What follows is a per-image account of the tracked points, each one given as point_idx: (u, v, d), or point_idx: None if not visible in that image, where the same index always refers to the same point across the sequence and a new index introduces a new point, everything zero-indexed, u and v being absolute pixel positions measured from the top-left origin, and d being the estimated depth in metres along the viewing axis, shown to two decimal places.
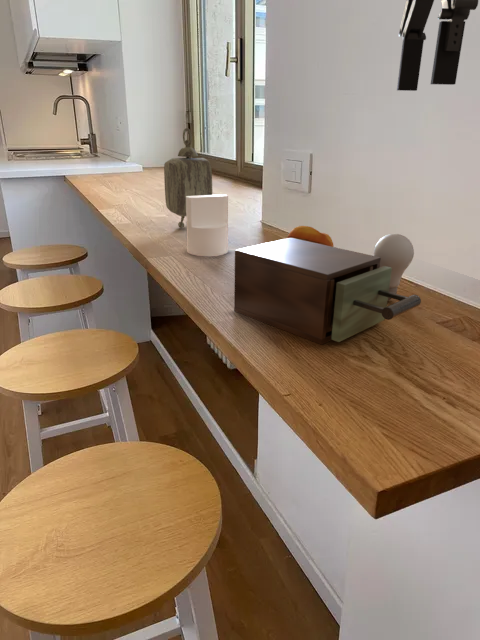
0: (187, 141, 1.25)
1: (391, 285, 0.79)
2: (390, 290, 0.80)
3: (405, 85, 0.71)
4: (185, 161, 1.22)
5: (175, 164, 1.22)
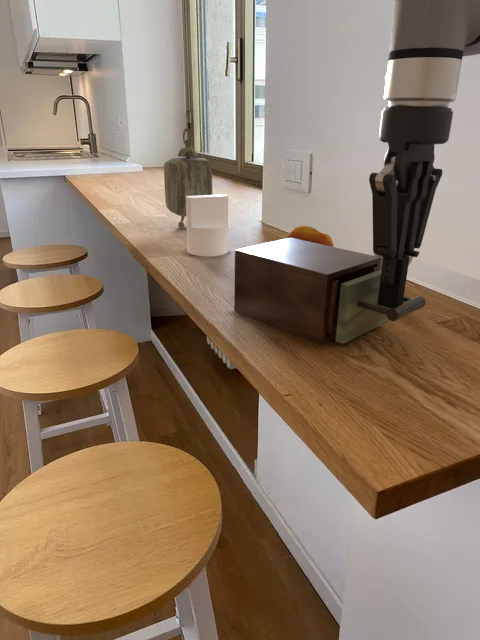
0: (187, 141, 1.25)
1: None
2: None
3: None
4: (185, 161, 1.22)
5: (175, 164, 1.22)
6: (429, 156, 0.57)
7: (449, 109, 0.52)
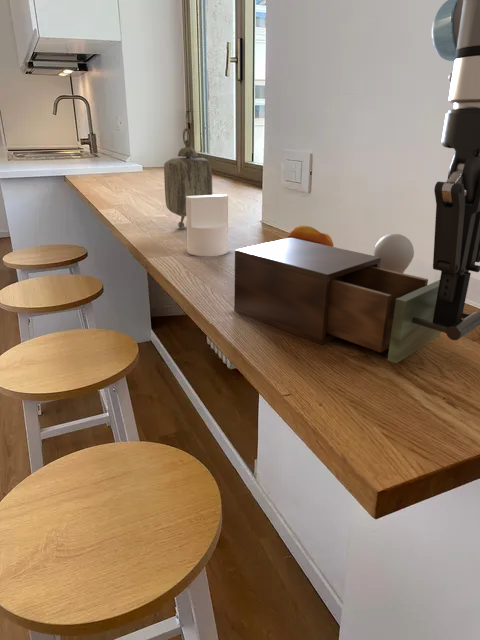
0: (187, 141, 1.25)
1: None
2: None
3: None
4: (185, 161, 1.22)
5: (175, 164, 1.22)
6: None
7: None
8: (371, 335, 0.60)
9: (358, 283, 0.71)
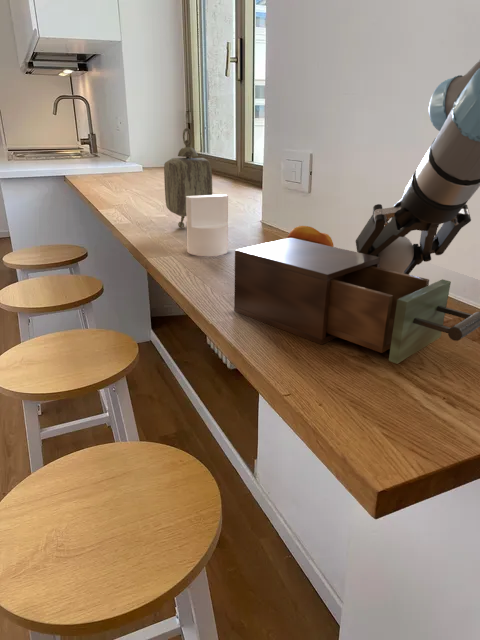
0: (187, 141, 1.25)
1: None
2: None
3: None
4: (185, 161, 1.22)
5: (175, 164, 1.22)
6: None
7: (449, 208, 0.61)
8: (372, 335, 0.60)
9: (359, 283, 0.71)
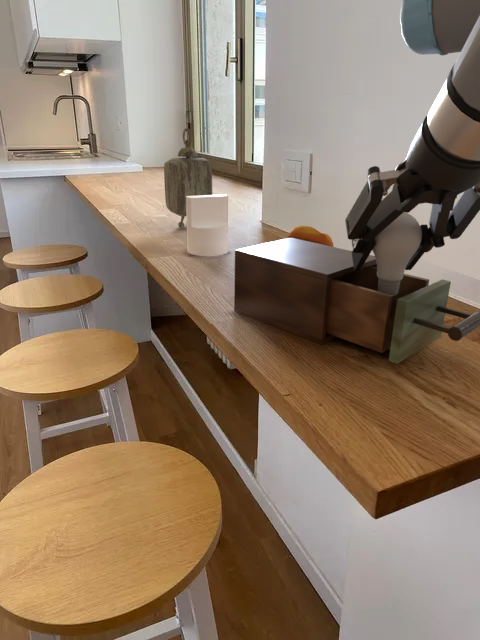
0: (187, 141, 1.25)
1: (392, 279, 0.61)
2: (391, 285, 0.61)
3: None
4: (185, 161, 1.22)
5: (175, 164, 1.22)
6: None
7: (475, 166, 0.43)
8: (372, 335, 0.60)
9: (359, 283, 0.71)
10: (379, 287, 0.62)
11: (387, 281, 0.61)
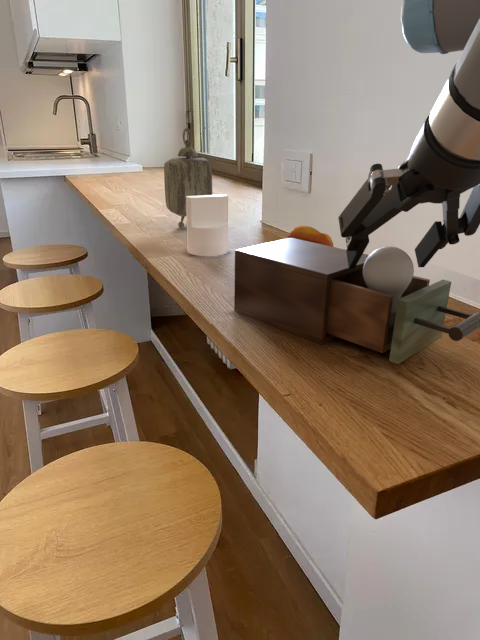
0: (187, 141, 1.25)
1: None
2: None
3: (417, 253, 0.65)
4: (185, 161, 1.22)
5: (175, 164, 1.22)
6: None
7: (478, 165, 0.43)
8: (373, 336, 0.60)
9: (359, 283, 0.71)
10: None
11: None
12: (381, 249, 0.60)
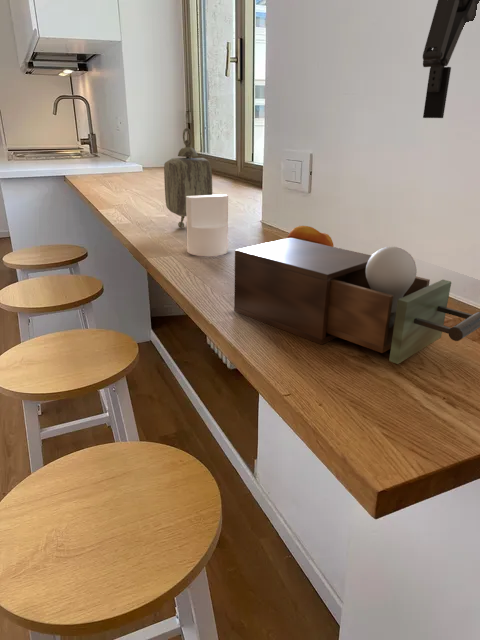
0: (187, 141, 1.25)
1: None
2: None
3: None
4: (185, 161, 1.22)
5: (175, 164, 1.22)
6: None
7: None
8: (373, 336, 0.60)
9: (359, 283, 0.71)
10: None
11: None
12: (385, 249, 0.61)
